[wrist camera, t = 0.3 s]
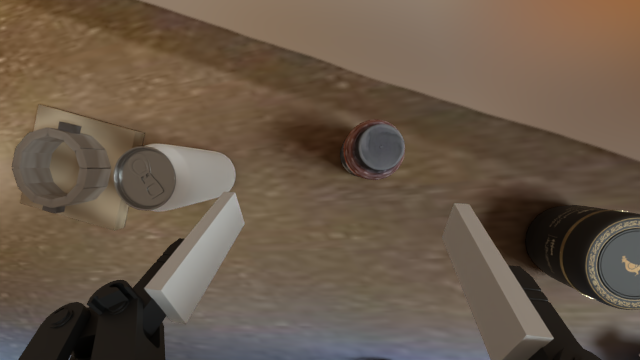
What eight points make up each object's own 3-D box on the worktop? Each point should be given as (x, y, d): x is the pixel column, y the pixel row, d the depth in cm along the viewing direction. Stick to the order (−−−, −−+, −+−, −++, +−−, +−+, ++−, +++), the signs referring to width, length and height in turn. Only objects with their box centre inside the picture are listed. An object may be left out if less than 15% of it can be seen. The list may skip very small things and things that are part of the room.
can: (221, 142, 31) (153, 126, 19) (245, 182, 32) (193, 191, 20) (183, 166, 32) (94, 165, 20) (207, 205, 32) (133, 228, 20)
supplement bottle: (346, 181, 31) (355, 189, 20) (335, 139, 31) (337, 122, 19) (389, 170, 31) (423, 172, 19) (378, 127, 30) (407, 103, 19)
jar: (596, 276, 30) (687, 313, 22) (518, 276, 31) (580, 312, 23) (600, 201, 30) (694, 213, 22) (520, 202, 30) (584, 214, 22)
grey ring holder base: (123, 227, 33) (91, 237, 28) (34, 201, 33) (-13, 206, 29) (144, 132, 32) (114, 127, 27) (52, 107, 32) (7, 97, 28)
